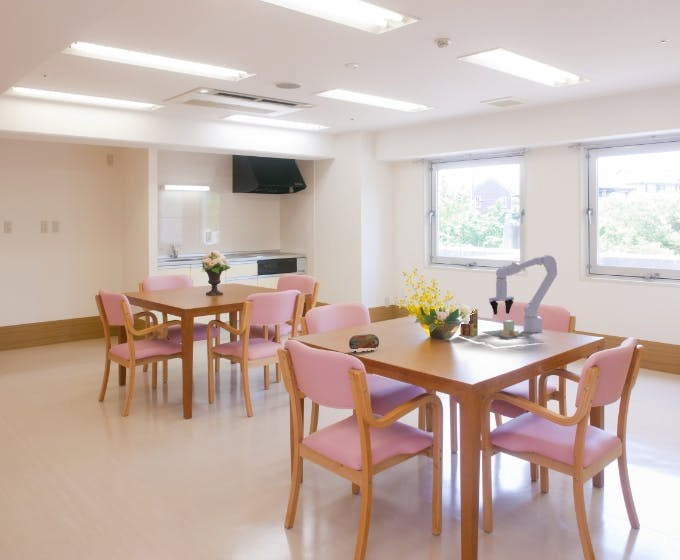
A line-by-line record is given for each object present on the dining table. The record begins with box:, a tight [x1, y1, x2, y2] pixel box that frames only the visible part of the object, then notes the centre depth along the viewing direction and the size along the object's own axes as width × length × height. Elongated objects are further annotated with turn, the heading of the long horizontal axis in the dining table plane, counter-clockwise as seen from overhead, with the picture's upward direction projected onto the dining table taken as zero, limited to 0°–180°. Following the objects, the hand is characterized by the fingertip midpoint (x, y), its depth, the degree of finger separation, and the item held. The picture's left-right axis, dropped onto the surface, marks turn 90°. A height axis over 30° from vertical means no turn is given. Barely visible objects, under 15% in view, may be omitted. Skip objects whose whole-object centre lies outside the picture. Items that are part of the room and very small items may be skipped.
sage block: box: [502, 319, 515, 331], centre depth 314 cm, size 4×4×5 cm
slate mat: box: [482, 329, 530, 341], centre depth 319 cm, size 14×25×1 cm, turn 17°
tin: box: [348, 333, 380, 350], centre depth 292 cm, size 15×3×8 cm, turn 105°
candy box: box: [459, 308, 479, 337], centre depth 321 cm, size 9×4×15 cm, turn 39°
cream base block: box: [499, 329, 520, 338], centre depth 315 cm, size 7×7×3 cm
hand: (501, 313), depth 330 cm, fingers open, 7 cm apart
